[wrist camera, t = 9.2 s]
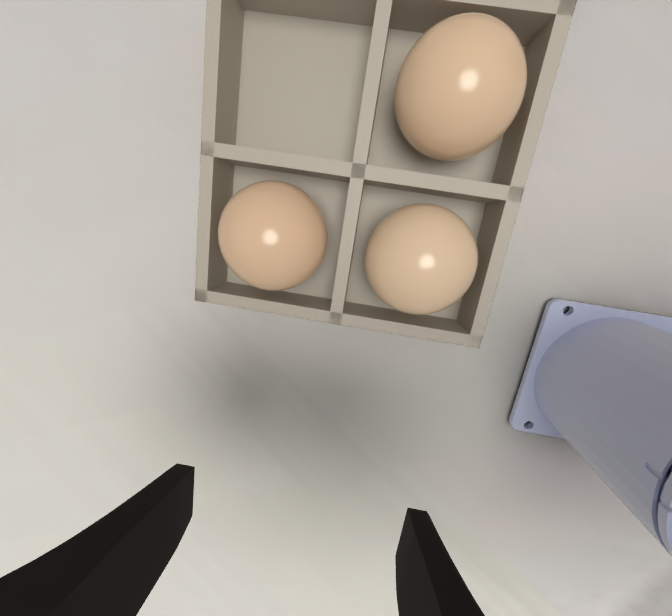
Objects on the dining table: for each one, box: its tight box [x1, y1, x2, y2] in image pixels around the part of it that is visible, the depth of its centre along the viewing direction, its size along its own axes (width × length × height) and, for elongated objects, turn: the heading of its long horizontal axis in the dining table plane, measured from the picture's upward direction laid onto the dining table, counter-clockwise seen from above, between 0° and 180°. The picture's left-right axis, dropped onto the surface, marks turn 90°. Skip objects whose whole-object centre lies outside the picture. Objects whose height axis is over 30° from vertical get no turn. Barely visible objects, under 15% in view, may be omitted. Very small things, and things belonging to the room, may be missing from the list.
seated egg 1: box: [218, 180, 328, 291], centre depth 16 cm, size 5×5×5 cm
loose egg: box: [394, 12, 527, 161], centre depth 14 cm, size 5×5×5 cm
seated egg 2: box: [365, 203, 478, 315], centre depth 16 cm, size 5×5×5 cm
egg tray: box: [195, 0, 577, 348], centre depth 16 cm, size 14×14×3 cm
